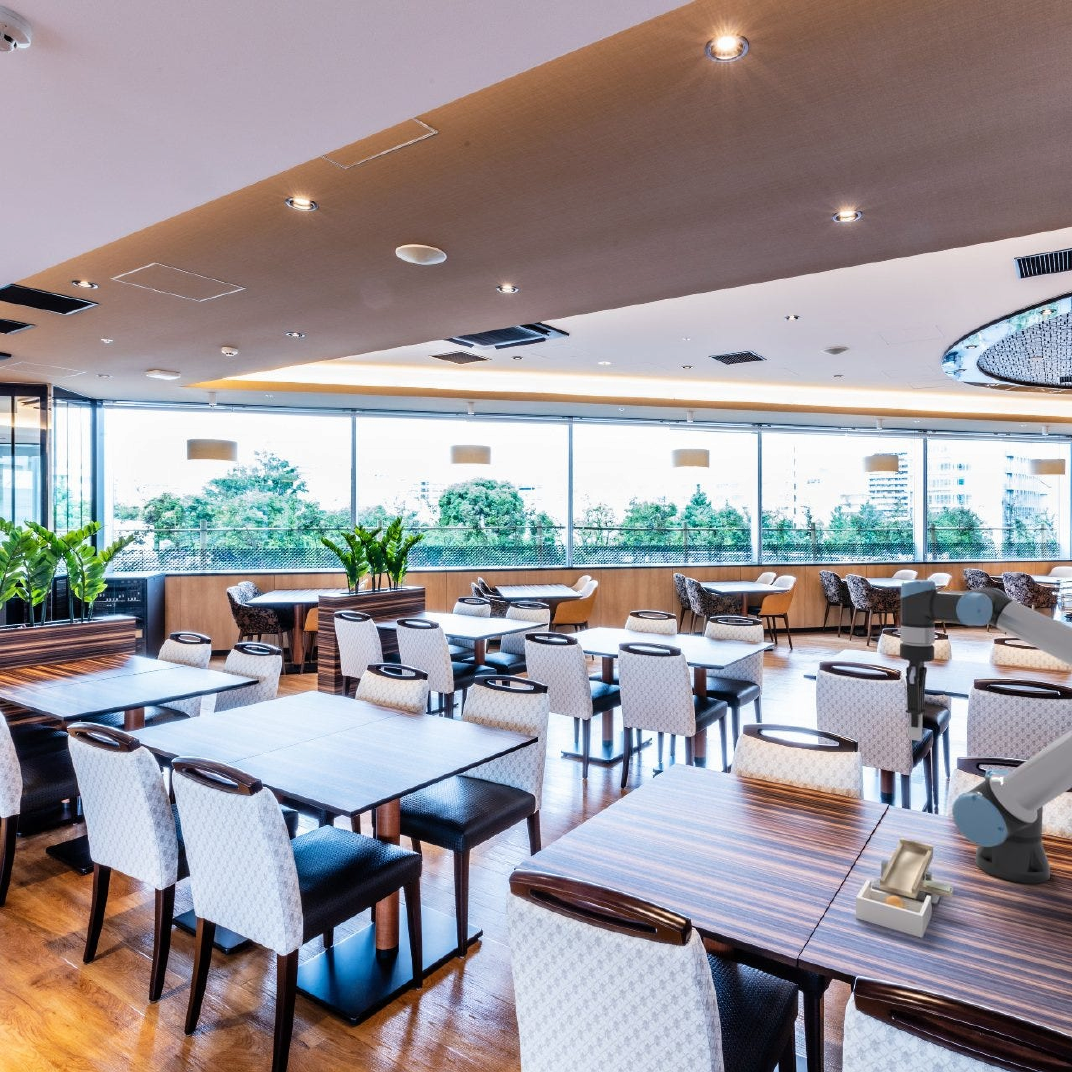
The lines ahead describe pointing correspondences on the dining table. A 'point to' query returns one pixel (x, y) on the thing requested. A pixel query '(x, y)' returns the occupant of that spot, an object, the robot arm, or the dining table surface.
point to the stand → (920, 896)
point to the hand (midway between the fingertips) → (915, 739)
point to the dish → (893, 911)
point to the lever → (911, 871)
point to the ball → (895, 901)
